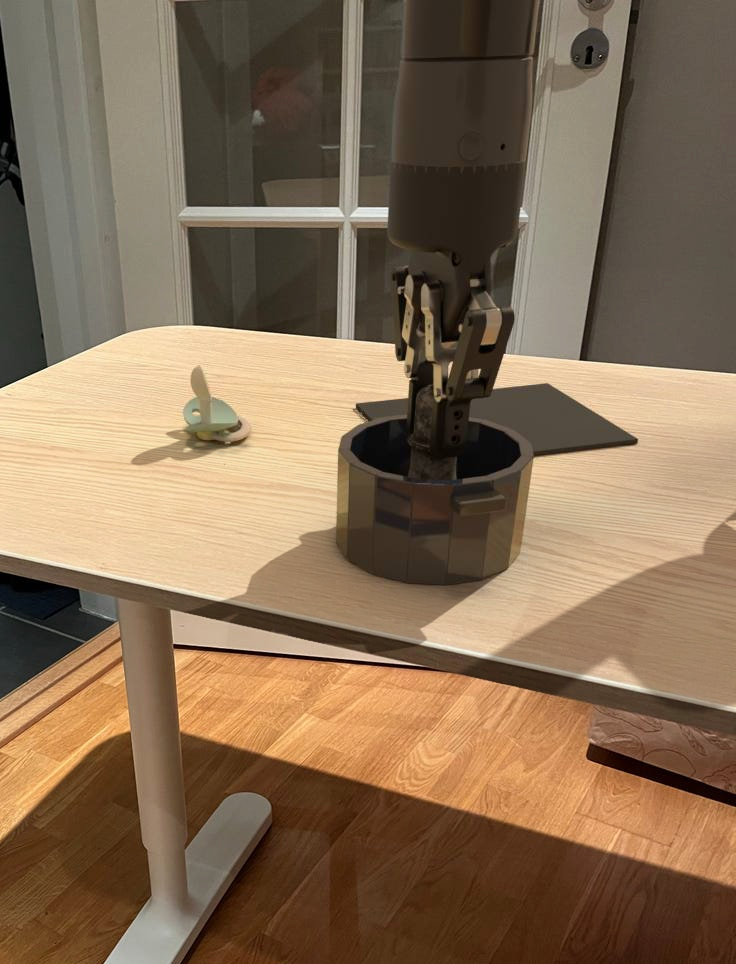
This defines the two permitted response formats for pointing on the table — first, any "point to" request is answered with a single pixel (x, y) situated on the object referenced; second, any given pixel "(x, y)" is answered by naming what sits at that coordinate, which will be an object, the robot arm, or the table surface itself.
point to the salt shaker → (427, 443)
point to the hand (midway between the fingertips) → (434, 442)
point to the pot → (431, 504)
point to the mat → (531, 418)
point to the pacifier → (211, 413)
